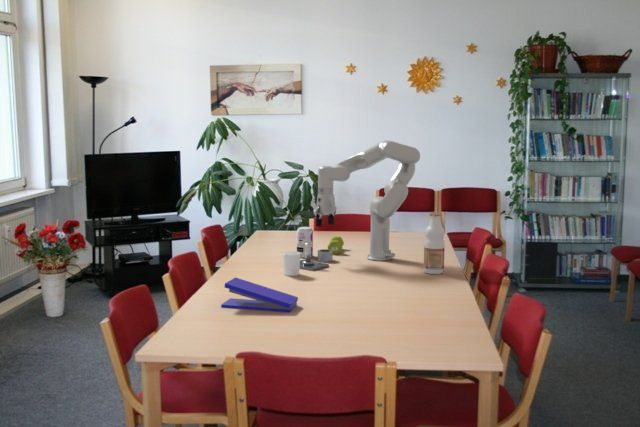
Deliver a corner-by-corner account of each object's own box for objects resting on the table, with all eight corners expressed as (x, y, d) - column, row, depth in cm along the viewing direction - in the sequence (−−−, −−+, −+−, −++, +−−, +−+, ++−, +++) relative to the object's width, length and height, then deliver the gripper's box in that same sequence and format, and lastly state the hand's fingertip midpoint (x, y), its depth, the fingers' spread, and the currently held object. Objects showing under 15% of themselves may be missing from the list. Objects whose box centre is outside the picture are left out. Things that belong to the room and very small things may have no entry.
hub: (335, 260, 369) (335, 250, 369) (326, 262, 364) (326, 252, 363) (323, 258, 374) (323, 248, 373) (314, 260, 368) (315, 250, 368)
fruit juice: (419, 271, 346) (420, 212, 342) (434, 269, 351) (436, 211, 347) (432, 275, 338) (434, 215, 334) (448, 273, 343) (449, 213, 339)
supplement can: (313, 255, 382) (313, 226, 380) (311, 258, 374) (311, 229, 372) (297, 254, 383) (298, 226, 381) (295, 258, 375) (295, 229, 372)
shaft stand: (328, 266, 355) (328, 243, 353) (313, 270, 346) (313, 247, 344) (303, 262, 365) (303, 239, 363) (287, 266, 355) (287, 243, 354)
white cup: (298, 276, 334) (298, 255, 332) (281, 276, 335) (281, 254, 334) (301, 273, 341) (302, 251, 340) (285, 272, 343) (285, 251, 341)
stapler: (230, 301, 293) (230, 276, 292) (298, 306, 287) (298, 281, 285) (220, 308, 282) (220, 283, 281) (290, 313, 276) (290, 288, 274)
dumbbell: (342, 255, 384) (342, 241, 383) (326, 254, 384) (326, 241, 383) (344, 249, 400) (344, 236, 399) (329, 248, 401) (329, 235, 400)
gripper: (320, 193, 355) (320, 228, 357) (342, 190, 368) (341, 224, 371) (308, 191, 359) (308, 226, 362) (330, 189, 373) (329, 222, 375)
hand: (325, 225), depth 366 cm, fingers open, 9 cm apart
